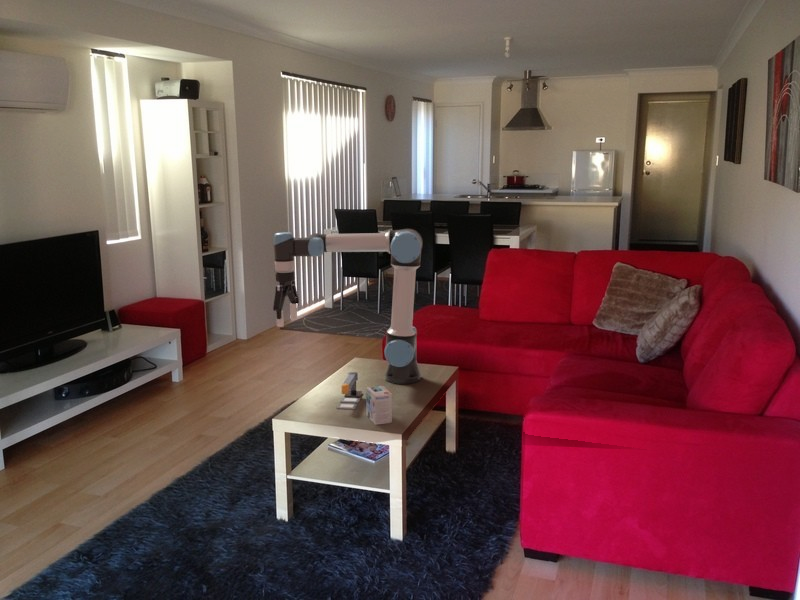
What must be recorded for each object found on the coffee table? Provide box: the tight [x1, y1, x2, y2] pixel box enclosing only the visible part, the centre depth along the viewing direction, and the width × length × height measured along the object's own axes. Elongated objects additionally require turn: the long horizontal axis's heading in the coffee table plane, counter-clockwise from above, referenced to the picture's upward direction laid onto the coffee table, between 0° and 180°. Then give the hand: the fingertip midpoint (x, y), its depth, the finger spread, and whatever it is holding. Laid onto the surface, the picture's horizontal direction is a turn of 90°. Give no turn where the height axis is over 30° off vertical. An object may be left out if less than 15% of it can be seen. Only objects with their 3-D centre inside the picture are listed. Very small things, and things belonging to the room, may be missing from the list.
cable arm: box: [341, 371, 359, 395], centre depth 270 cm, size 4×19×3 cm, turn 173°
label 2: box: [336, 403, 358, 411], centre depth 267 cm, size 7×5×1 cm
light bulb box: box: [365, 385, 393, 426], centre depth 253 cm, size 11×7×11 cm, turn 21°
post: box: [344, 381, 363, 398], centre depth 279 cm, size 6×6×6 cm
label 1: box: [340, 397, 362, 404], centre depth 273 cm, size 7×5×1 cm
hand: (287, 322), depth 286 cm, fingers open, 13 cm apart
